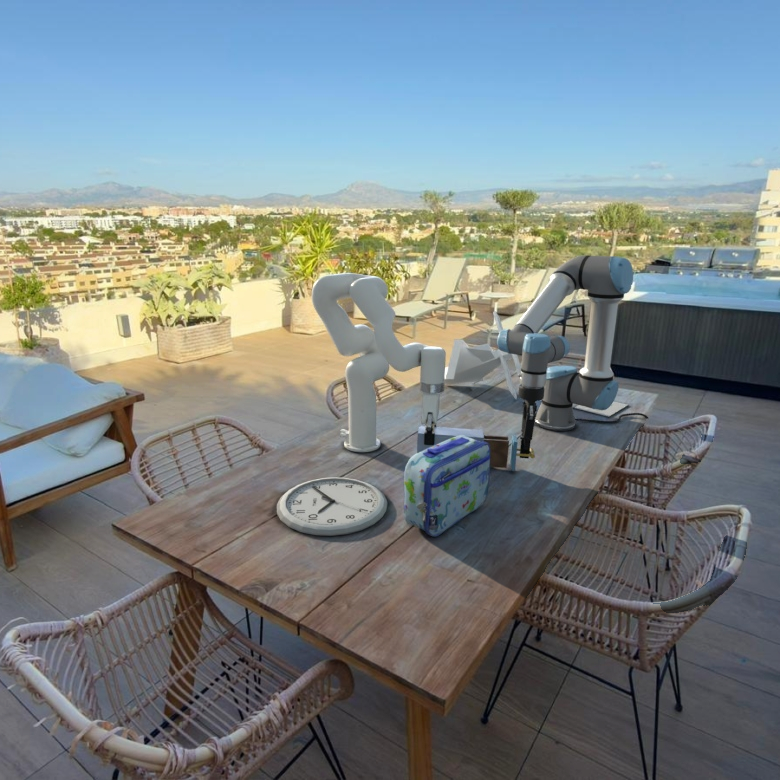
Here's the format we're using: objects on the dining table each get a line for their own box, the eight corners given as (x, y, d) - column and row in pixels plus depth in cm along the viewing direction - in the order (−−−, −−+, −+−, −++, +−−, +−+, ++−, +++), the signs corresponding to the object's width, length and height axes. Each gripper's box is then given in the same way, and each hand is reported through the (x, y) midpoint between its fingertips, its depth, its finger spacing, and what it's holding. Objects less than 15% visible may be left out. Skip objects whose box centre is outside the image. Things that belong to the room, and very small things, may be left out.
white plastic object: (461, 429, 252) (437, 405, 227) (444, 352, 274) (420, 323, 250) (535, 404, 240) (518, 377, 215) (510, 326, 262) (492, 293, 237)
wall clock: (392, 527, 129) (268, 531, 127) (391, 533, 130) (269, 537, 127) (383, 473, 158) (282, 475, 155) (383, 478, 158) (282, 480, 156)
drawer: (531, 464, 168) (534, 436, 165) (533, 472, 162) (536, 443, 160) (452, 458, 171) (454, 431, 168) (452, 465, 166) (454, 437, 163)
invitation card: (608, 416, 214) (573, 407, 224) (608, 416, 214) (573, 408, 224) (628, 404, 229) (594, 396, 238) (628, 405, 229) (594, 397, 238)
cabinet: (481, 462, 170) (483, 429, 167) (481, 471, 164) (484, 437, 161) (418, 457, 173) (419, 425, 170) (416, 466, 167) (417, 433, 163)
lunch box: (429, 545, 125) (432, 466, 119) (397, 527, 132) (398, 451, 126) (492, 507, 143) (498, 436, 136) (460, 493, 150) (465, 425, 144)
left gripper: (422, 378, 171) (420, 429, 176) (417, 394, 154) (415, 450, 159) (445, 379, 170) (443, 431, 175) (442, 396, 153) (440, 452, 158)
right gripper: (517, 378, 164) (510, 448, 171) (521, 390, 152) (513, 465, 159) (542, 380, 163) (534, 450, 170) (547, 392, 151) (538, 467, 158)
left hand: (430, 439), depth 167 cm, fingers closed on cabinet, 6 cm apart
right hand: (524, 457), depth 164 cm, fingers closed
